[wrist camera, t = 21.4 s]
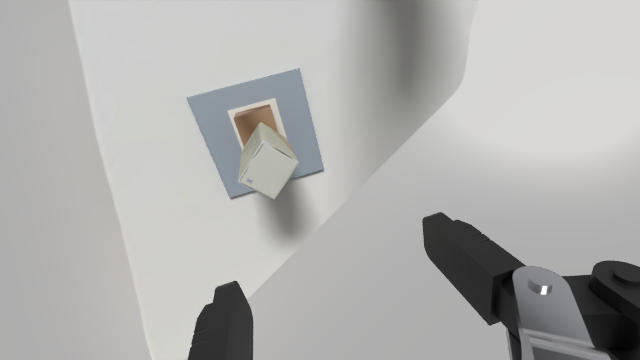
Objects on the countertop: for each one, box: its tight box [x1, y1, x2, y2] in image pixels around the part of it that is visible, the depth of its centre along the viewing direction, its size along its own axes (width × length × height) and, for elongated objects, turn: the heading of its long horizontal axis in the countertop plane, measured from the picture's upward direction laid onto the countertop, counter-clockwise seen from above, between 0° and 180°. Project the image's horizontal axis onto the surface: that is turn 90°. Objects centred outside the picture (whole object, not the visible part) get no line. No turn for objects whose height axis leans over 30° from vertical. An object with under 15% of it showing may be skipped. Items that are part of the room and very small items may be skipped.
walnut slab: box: [233, 104, 279, 147], centre depth 39 cm, size 5×9×4 cm, turn 13°
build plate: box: [187, 68, 324, 198], centre depth 41 cm, size 16×16×1 cm
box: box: [238, 122, 299, 200], centre depth 32 cm, size 5×4×11 cm
